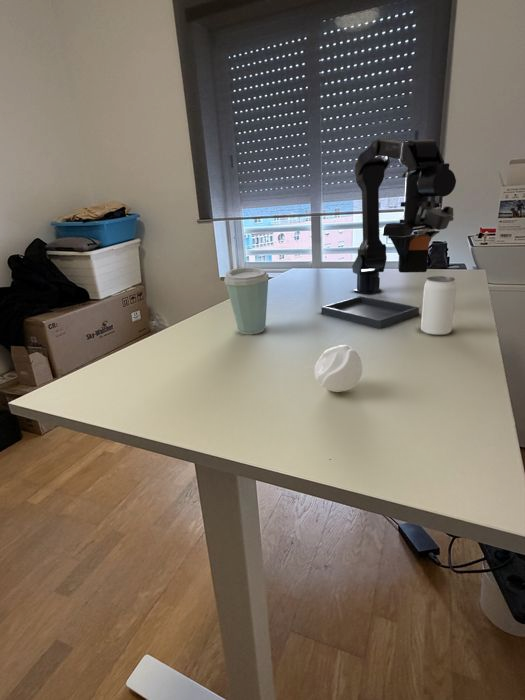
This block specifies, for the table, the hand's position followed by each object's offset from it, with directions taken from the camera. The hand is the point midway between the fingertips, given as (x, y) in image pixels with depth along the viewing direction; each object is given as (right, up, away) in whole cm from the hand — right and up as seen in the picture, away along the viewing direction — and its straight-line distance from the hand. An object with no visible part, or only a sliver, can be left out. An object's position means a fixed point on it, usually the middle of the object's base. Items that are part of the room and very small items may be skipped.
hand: (412, 261), depth 105 cm
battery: (0, -3, +1) cm, 3 cm away
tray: (-11, -13, +3) cm, 17 cm away
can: (+1, -19, -13) cm, 23 cm away
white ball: (-26, -30, -37) cm, 54 cm away
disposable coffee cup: (-42, -18, -4) cm, 46 cm away
